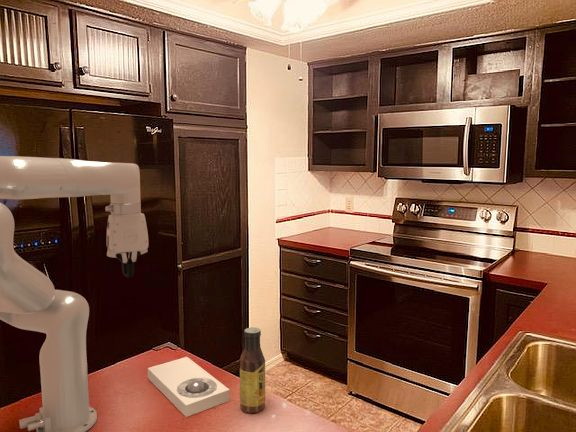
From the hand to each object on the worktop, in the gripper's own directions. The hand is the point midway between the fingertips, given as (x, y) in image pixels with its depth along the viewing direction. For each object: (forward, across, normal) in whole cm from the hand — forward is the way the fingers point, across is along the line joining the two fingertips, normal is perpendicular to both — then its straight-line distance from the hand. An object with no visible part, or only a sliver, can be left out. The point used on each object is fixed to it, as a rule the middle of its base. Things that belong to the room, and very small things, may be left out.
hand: (128, 275), depth 124 cm
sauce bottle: (+29, +18, -34) cm, 48 cm away
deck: (+29, +9, -16) cm, 34 cm away
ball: (+27, +9, -21) cm, 35 cm away
